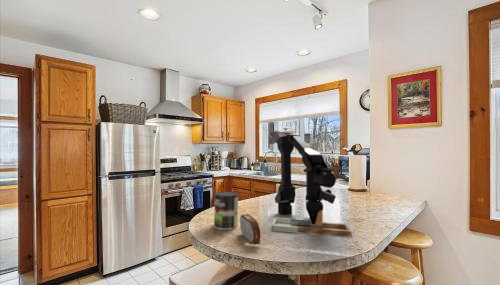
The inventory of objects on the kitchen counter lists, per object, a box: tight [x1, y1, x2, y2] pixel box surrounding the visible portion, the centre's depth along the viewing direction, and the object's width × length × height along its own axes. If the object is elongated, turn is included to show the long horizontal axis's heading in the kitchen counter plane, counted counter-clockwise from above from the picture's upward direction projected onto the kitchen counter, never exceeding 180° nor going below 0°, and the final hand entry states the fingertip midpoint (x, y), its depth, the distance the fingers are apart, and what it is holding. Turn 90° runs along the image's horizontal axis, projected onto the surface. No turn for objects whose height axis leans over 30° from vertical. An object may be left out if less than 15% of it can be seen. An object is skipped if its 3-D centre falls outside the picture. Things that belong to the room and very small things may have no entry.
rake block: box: [311, 210, 324, 228], centre depth 96 cm, size 5×5×8 cm
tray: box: [270, 216, 299, 234], centre depth 99 cm, size 10×12×3 cm
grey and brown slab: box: [239, 213, 261, 245], centre depth 87 cm, size 15×3×8 cm, turn 21°
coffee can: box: [213, 191, 239, 231], centre depth 101 cm, size 10×10×14 cm
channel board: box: [297, 221, 352, 238], centre depth 95 cm, size 20×12×2 cm, turn 77°
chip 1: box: [290, 215, 302, 227], centre depth 98 cm, size 4×4×4 cm
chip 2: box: [300, 216, 311, 227], centre depth 97 cm, size 4×4×4 cm
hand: (313, 222), depth 96 cm, fingers closed on rake block, 4 cm apart
